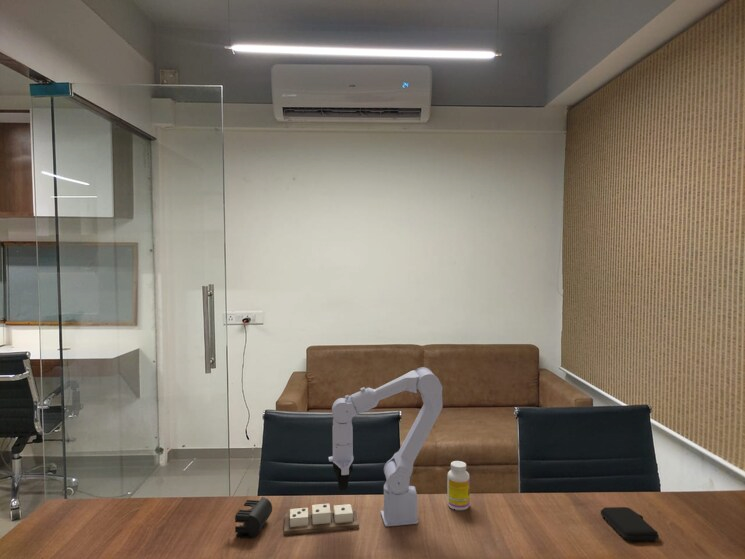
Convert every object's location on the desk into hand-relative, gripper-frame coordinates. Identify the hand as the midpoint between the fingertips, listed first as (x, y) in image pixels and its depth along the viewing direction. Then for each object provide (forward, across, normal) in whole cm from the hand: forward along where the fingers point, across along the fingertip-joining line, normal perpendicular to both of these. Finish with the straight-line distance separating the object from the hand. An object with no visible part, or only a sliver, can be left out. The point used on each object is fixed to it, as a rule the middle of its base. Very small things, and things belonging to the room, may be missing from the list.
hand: (342, 488), depth 133 cm
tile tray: (+9, 0, -6) cm, 11 cm away
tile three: (+9, 0, -12) cm, 15 cm away
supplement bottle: (+10, -3, +35) cm, 37 cm away
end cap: (+10, 0, -25) cm, 27 cm away
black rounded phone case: (+10, +16, +78) cm, 81 cm away
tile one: (+9, 0, 0) cm, 9 cm away
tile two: (+8, 0, -6) cm, 10 cm away
